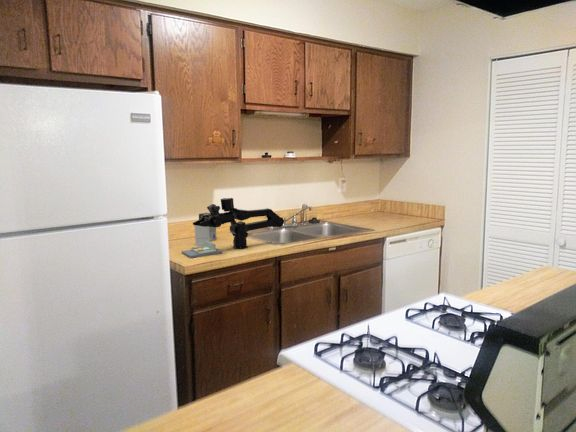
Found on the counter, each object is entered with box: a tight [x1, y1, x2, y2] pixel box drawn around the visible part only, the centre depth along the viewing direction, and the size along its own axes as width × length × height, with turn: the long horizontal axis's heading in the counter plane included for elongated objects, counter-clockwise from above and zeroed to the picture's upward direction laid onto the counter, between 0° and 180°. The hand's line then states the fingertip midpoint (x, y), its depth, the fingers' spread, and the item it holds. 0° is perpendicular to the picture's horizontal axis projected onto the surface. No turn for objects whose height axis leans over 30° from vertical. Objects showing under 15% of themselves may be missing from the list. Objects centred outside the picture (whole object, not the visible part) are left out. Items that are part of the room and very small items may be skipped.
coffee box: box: [198, 212, 217, 242], centre depth 256 cm, size 9×6×16 cm
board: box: [181, 245, 223, 259], centre depth 222 cm, size 18×13×4 cm
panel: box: [190, 240, 217, 254], centre depth 222 cm, size 9×12×4 cm
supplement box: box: [193, 225, 211, 247], centre depth 243 cm, size 7×7×13 cm
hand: (196, 224), depth 219 cm, fingers open, 9 cm apart
